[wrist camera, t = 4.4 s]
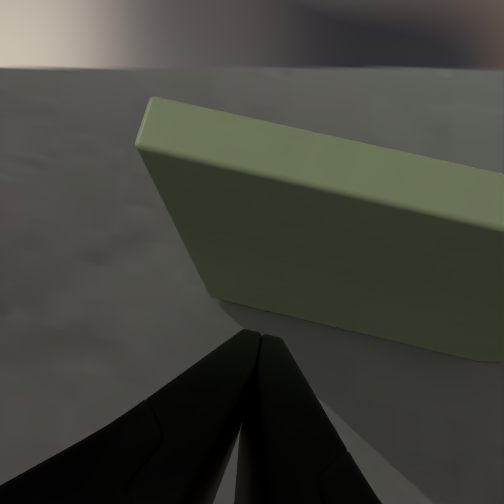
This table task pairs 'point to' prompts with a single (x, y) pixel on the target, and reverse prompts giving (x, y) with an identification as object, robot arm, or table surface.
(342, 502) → the robot arm
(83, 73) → the table surface
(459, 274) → the door
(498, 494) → the table surface
